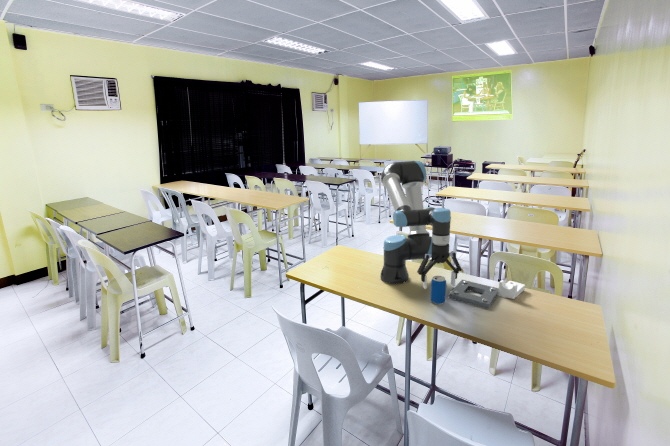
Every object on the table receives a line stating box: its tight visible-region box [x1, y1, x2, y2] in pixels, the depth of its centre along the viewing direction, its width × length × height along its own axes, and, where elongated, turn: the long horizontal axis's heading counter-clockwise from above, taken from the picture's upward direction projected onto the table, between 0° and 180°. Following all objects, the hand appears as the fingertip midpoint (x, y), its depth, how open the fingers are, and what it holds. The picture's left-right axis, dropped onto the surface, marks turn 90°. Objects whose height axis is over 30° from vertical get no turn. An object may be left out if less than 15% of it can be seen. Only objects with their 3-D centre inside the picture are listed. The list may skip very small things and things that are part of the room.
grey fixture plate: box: [448, 279, 499, 310], centre depth 164 cm, size 18×18×3 cm
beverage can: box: [430, 275, 447, 305], centre depth 159 cm, size 6×6×12 cm
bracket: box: [497, 279, 526, 300], centre depth 164 cm, size 13×7×8 cm, turn 132°
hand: (438, 286), depth 158 cm, fingers open, 13 cm apart
